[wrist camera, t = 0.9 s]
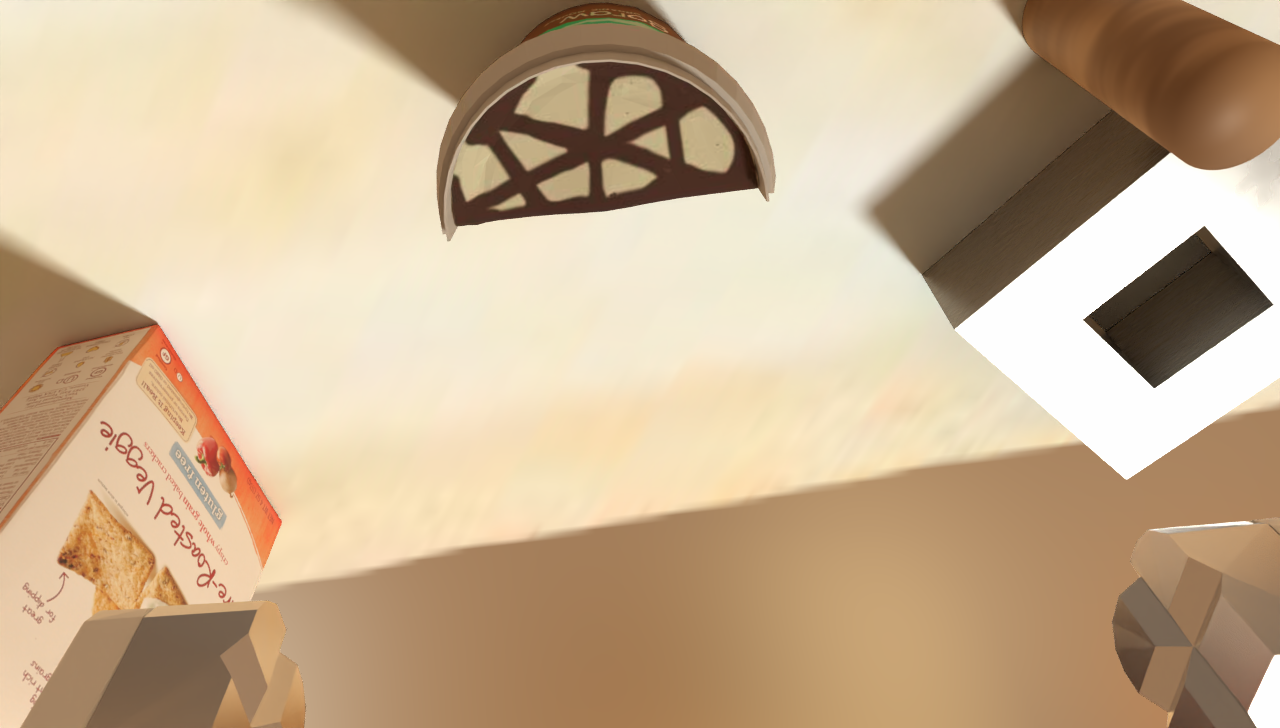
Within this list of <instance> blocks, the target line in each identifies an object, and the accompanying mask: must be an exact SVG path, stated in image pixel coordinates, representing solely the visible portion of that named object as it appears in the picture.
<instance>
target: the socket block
mask: <svg viewBox="0 0 1280 728" xmlns="http://www.w3.org/2000/svg"><path fill="white" fill-rule="evenodd" d="M1194 233H1195V234H1196V235H1197V236H1198V237H1199V238H1200V239H1201V240H1202V241H1203V243H1204V244H1205V245H1206V246H1207V247H1208V248H1209V249H1210V250H1211V252H1212V253H1210V254H1209V255H1208V256H1206V257H1205V258H1204V259H1202V260H1201V261H1200V262H1199V263H1197V264H1196V265H1195V266H1193V267H1192V268H1191V269H1189V270H1188V271H1187V272H1185V273H1184V274H1183V275H1181V276H1180V277H1179V278H1177V279H1176V280H1175V281H1173V282H1172V283H1171V284H1169V285H1168V286H1167V287H1165V288H1164V289H1163V290H1161V291H1160V292H1159V293H1157V294H1156V295H1155V296H1153V297H1152V298H1151V299H1149V300H1148V301H1147V302H1145V303H1144V304H1143V305H1141V306H1140V307H1139V308H1137V309H1136V310H1135V311H1133V312H1132V313H1131V314H1129V315H1128V316H1127V317H1125V318H1124V319H1123V320H1122V321H1120V322H1119V323H1118V324H1116V325H1115V326H1114V327H1112V328H1111V329H1110V330H1108V331H1107V332H1105V331H1104V330H1103V329H1102V328H1101V327H1100V326H1099V325H1098V324H1097V323H1096V322H1095V321H1094V320H1093V319H1092V318H1091V317H1090V316H1089V314H1090V313H1091V312H1093V311H1094V310H1095V309H1097V308H1098V307H1099V306H1100V305H1102V304H1103V303H1104V302H1106V301H1107V300H1108V299H1110V298H1111V297H1112V296H1113V295H1115V294H1116V293H1117V292H1119V291H1120V290H1121V289H1123V288H1124V287H1125V286H1126V285H1128V284H1129V283H1130V282H1132V281H1133V280H1134V279H1136V278H1137V277H1138V276H1139V275H1141V274H1142V273H1143V272H1145V271H1146V270H1147V269H1149V268H1150V267H1151V266H1152V265H1154V264H1155V263H1156V262H1158V261H1159V260H1160V259H1162V258H1163V257H1164V256H1165V255H1167V254H1168V253H1169V252H1171V251H1172V250H1173V249H1175V248H1176V247H1177V246H1178V245H1180V244H1181V243H1182V242H1184V241H1185V240H1186V239H1188V238H1189V237H1190V236H1191V235H1193V234H1194ZM922 276H923V278H924V279H925V281H926V283H927V284H928V286H929V288H930V289H931V291H932V293H933V294H934V296H935V298H936V299H937V301H938V303H939V304H940V306H941V308H942V310H943V311H944V313H945V315H946V316H947V318H948V320H949V321H950V323H951V325H952V326H953V328H954V330H955V331H957V332H958V333H959V334H960V335H961V336H962V337H963V338H965V339H966V340H967V341H968V342H969V343H970V344H971V345H973V346H974V347H975V348H976V349H977V350H978V351H980V352H981V353H982V354H983V355H984V356H985V357H986V358H988V359H989V360H990V361H991V362H992V363H993V364H994V365H996V366H997V367H998V368H999V369H1000V370H1001V371H1002V372H1004V373H1005V374H1006V375H1007V376H1008V377H1009V378H1011V379H1012V380H1013V381H1014V382H1015V383H1016V384H1017V385H1019V386H1020V387H1021V388H1022V389H1023V390H1024V391H1025V392H1027V393H1028V394H1029V395H1030V396H1031V397H1032V398H1033V399H1035V400H1036V401H1037V402H1038V403H1039V404H1040V405H1042V406H1043V407H1044V408H1045V409H1046V410H1047V411H1048V412H1050V413H1051V414H1052V415H1053V416H1054V417H1055V418H1056V419H1058V420H1059V421H1060V422H1061V423H1062V424H1063V425H1064V426H1066V427H1067V428H1068V429H1069V430H1070V431H1071V432H1072V433H1074V434H1075V435H1076V436H1077V437H1078V438H1079V439H1081V440H1082V441H1083V442H1084V443H1085V444H1086V445H1087V446H1089V447H1090V448H1091V449H1092V450H1093V451H1095V453H1097V454H1098V455H1099V456H1100V457H1101V458H1103V460H1105V461H1106V462H1107V463H1108V464H1109V465H1110V466H1112V467H1113V468H1114V469H1115V470H1116V471H1117V472H1118V473H1120V474H1121V475H1122V476H1123V477H1124V478H1125V479H1128V478H1130V477H1131V476H1133V475H1134V474H1136V473H1137V472H1139V471H1140V470H1142V469H1143V468H1145V467H1146V466H1147V465H1149V464H1151V463H1152V462H1154V461H1155V460H1157V459H1158V458H1160V457H1161V456H1163V455H1164V454H1166V453H1167V452H1169V451H1170V450H1171V449H1173V448H1175V447H1176V446H1177V445H1179V444H1180V443H1182V442H1183V441H1185V440H1186V439H1188V438H1189V437H1191V436H1192V435H1194V434H1195V433H1197V432H1198V431H1200V430H1201V429H1203V428H1204V427H1206V426H1207V425H1209V424H1210V423H1212V422H1213V421H1215V420H1216V419H1218V418H1219V417H1221V416H1222V415H1224V414H1225V413H1227V412H1228V411H1230V410H1231V409H1233V408H1234V407H1236V406H1237V405H1239V404H1240V403H1242V402H1243V401H1245V400H1246V399H1248V398H1249V397H1251V396H1252V395H1254V394H1255V393H1257V392H1258V391H1260V390H1261V389H1263V388H1264V387H1266V386H1267V385H1269V384H1270V383H1272V382H1273V381H1275V380H1276V379H1278V378H1279V377H1280V138H1279V139H1278V140H1277V141H1276V142H1275V143H1274V144H1273V145H1272V146H1271V147H1269V148H1268V149H1267V150H1266V151H1264V152H1263V153H1261V154H1260V155H1258V156H1257V157H1255V158H1253V159H1252V160H1250V161H1247V162H1245V163H1243V164H1241V165H1238V166H1235V167H1232V168H1228V169H1222V170H1202V169H1198V168H1194V167H1192V166H1190V165H1188V164H1186V163H1185V162H1183V161H1182V160H1180V159H1179V158H1178V157H1176V156H1175V155H1174V154H1172V153H1171V152H1169V151H1168V150H1167V149H1165V148H1164V147H1163V146H1161V145H1160V144H1159V143H1157V142H1156V141H1155V140H1153V139H1152V138H1150V137H1149V136H1148V135H1146V134H1145V133H1144V132H1142V131H1141V130H1140V129H1138V128H1137V127H1135V126H1134V125H1133V124H1131V123H1130V122H1129V121H1127V120H1126V119H1125V118H1123V117H1122V116H1120V115H1119V114H1118V113H1116V112H1115V111H1114V110H1112V111H1111V112H1110V113H1109V114H1108V115H1107V116H1105V117H1104V118H1103V119H1102V120H1101V121H1100V122H1098V123H1097V124H1096V125H1095V126H1094V127H1093V128H1092V129H1090V130H1089V131H1088V132H1087V133H1086V134H1085V135H1083V136H1082V137H1081V138H1080V139H1079V140H1078V141H1077V142H1075V143H1074V144H1073V145H1072V146H1071V147H1070V148H1068V149H1067V150H1066V151H1065V152H1064V153H1063V154H1062V155H1060V156H1059V157H1058V158H1057V159H1056V160H1055V161H1053V162H1052V163H1051V164H1050V165H1049V166H1048V167H1046V168H1045V169H1044V170H1043V171H1042V172H1041V173H1040V174H1038V175H1037V176H1036V177H1035V178H1034V179H1033V180H1031V181H1030V182H1029V183H1028V184H1027V185H1026V186H1025V187H1023V188H1022V189H1021V190H1020V191H1019V192H1018V193H1016V194H1015V195H1014V196H1013V197H1012V198H1011V199H1009V200H1008V201H1007V202H1006V203H1005V204H1004V205H1003V206H1001V207H1000V208H999V209H998V210H997V211H996V212H994V213H993V214H992V215H991V216H990V217H989V218H988V219H986V220H985V221H984V222H983V223H982V224H981V225H979V226H978V227H977V228H976V229H975V230H974V231H973V232H971V233H970V234H969V235H968V236H967V237H966V238H964V239H963V240H962V241H961V242H960V243H959V244H957V245H956V246H955V247H954V248H953V249H952V250H951V251H949V252H948V253H947V254H946V255H945V256H944V257H942V258H941V259H940V260H939V261H938V262H937V263H936V264H934V265H933V266H932V267H931V268H930V269H929V270H927V271H926V272H925V273H924V274H923V275H922Z"/></svg>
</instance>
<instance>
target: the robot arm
mask: <svg viewBox="0 0 1280 728" xmlns="http://www.w3.org/2000/svg"><path fill="white" fill-rule="evenodd" d="M1130 562H1131V564H1132V565H1133V567H1134V569H1135V570H1136V572H1137V573H1138V575H1139V577H1140V578H1138V579H1137V580H1136V581H1135V582H1134V583H1133V584H1132V585H1131V586H1129V587H1128V588H1127V589H1126V590H1125V591H1124V592H1123V593H1122V594H1121V595H1119V598H1118V602H1117V605H1116V609H1115V613H1114V617H1113V621H1112V624H1113V632H1114V640H1115V649H1116V652H1117V654H1118V657H1119V659H1120V662H1121V664H1122V667H1123V669H1124V671H1125V673H1126V675H1127V676H1128V678H1129V679H1130V681H1131V682H1132V684H1133V685H1134V687H1135V689H1136V690H1137V692H1138V693H1139V694H1140V695H1142V696H1143V697H1145V698H1146V699H1148V700H1150V701H1151V702H1153V703H1154V704H1156V705H1158V706H1159V707H1161V708H1162V709H1164V710H1166V711H1167V712H1168V719H1167V728H1280V518H1269V519H1258V520H1252V521H1249V522H1244V521H1241V522H1230V523H1218V524H1207V525H1196V526H1186V527H1185V526H1184V527H1173V528H1162V529H1150V530H1147V531H1146V532H1145V533H1144V534H1143V536H1141V538H1140V539H1139V540H1138V541H1137V542H1136V545H1135V548H1134V551H1133V554H1132V557H1131V560H1130ZM285 633H286V627H285V625H284V622H283V620H282V616H281V614H280V611H279V609H278V606H277V604H276V603H273V602H270V601H267V600H263V601H244V602H227V603H209V604H191V605H173V606H157V607H156V608H144V609H123V610H102V611H99V612H97V613H96V614H94V615H93V616H92V617H90V618H89V619H87V620H86V621H85V622H84V623H83V624H82V626H81V627H80V629H79V631H78V632H77V634H76V636H75V637H74V639H73V641H72V642H71V644H70V646H69V647H68V649H67V651H66V652H65V654H64V656H63V657H62V659H61V661H60V662H59V664H58V666H57V667H56V669H55V671H54V672H53V674H52V676H51V677H50V679H49V681H48V682H47V684H46V686H45V687H44V689H43V691H42V692H41V694H40V696H39V697H38V699H37V700H36V702H35V704H34V705H33V707H32V709H31V710H30V712H29V714H28V715H27V717H26V719H25V720H24V722H23V724H22V725H21V727H20V728H304V724H305V712H306V704H305V696H304V687H303V681H302V678H301V675H300V671H299V668H298V665H297V664H296V663H295V662H293V661H292V660H291V659H289V658H288V657H286V656H285V655H283V654H282V653H280V652H279V651H280V648H281V645H282V642H283V639H284V636H285Z"/></svg>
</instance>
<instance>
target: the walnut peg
mask: <svg viewBox="0 0 1280 728" xmlns="http://www.w3.org/2000/svg"><path fill="white" fill-rule="evenodd" d="M1022 27H1023V34H1024V37H1025V40H1026V42H1027V44H1028V45H1029V47H1030V48H1031V49H1032V50H1033V51H1034V52H1035V53H1036V54H1037V55H1039V56H1040V57H1042V58H1043V59H1044V60H1046V61H1047V62H1048V63H1050V64H1051V65H1052V66H1054V67H1055V68H1057V69H1058V70H1059V71H1061V72H1062V73H1063V74H1065V75H1066V76H1067V77H1069V78H1070V79H1071V80H1073V81H1074V82H1076V83H1077V84H1078V85H1080V86H1081V87H1082V88H1084V89H1085V90H1086V91H1088V92H1089V93H1091V94H1092V95H1093V96H1095V97H1096V98H1097V99H1099V100H1100V101H1101V102H1103V103H1104V104H1106V105H1107V106H1108V107H1110V108H1111V109H1112V110H1114V111H1115V112H1116V113H1118V114H1119V115H1120V116H1122V117H1123V118H1125V119H1126V120H1127V121H1129V122H1130V123H1131V124H1133V125H1134V126H1135V127H1137V128H1138V129H1140V130H1141V131H1142V132H1144V133H1145V134H1146V135H1148V136H1149V137H1150V138H1152V139H1153V140H1155V141H1156V142H1157V143H1159V144H1160V145H1161V146H1163V147H1164V148H1165V149H1167V150H1168V151H1169V152H1171V153H1172V154H1174V155H1175V156H1176V157H1178V158H1179V159H1180V160H1182V161H1183V162H1185V163H1186V164H1188V165H1190V166H1192V167H1194V168H1198V169H1202V170H1222V169H1228V168H1232V167H1235V166H1238V165H1241V164H1243V163H1245V162H1247V161H1250V160H1252V159H1253V158H1255V157H1257V156H1258V155H1260V154H1261V153H1263V152H1264V151H1266V150H1267V149H1268V148H1269V147H1271V146H1272V145H1273V144H1274V143H1275V142H1276V141H1277V140H1278V139H1279V138H1280V45H1278V44H1276V43H1274V42H1272V41H1270V40H1267V39H1265V38H1263V37H1261V36H1259V35H1256V34H1254V33H1252V32H1250V31H1248V30H1245V29H1243V28H1241V27H1239V26H1237V25H1235V24H1232V23H1230V22H1228V21H1226V20H1224V19H1221V18H1219V17H1217V16H1215V15H1213V14H1211V13H1208V12H1206V11H1204V10H1202V9H1200V8H1197V7H1195V6H1193V5H1191V4H1189V3H1187V2H1184V1H1182V0H1028V1H1027V3H1026V6H1025V9H1024V13H1023V20H1022Z"/></svg>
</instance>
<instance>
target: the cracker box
mask: <svg viewBox="0 0 1280 728" xmlns="http://www.w3.org/2000/svg"><path fill="white" fill-rule="evenodd" d="M281 523H282V521H281V519H280V518H279V517H278V515H277V514H276V512H275V511H274V509H273V507H272V506H271V505H270V503H269V501H268V500H267V498H266V497H265V495H264V493H263V492H262V490H261V488H260V487H259V485H258V483H257V482H256V480H255V479H254V477H253V476H252V474H251V473H250V471H249V470H248V468H247V466H246V465H245V463H244V461H243V460H242V458H241V457H240V455H239V453H238V452H237V450H236V448H235V447H234V445H233V444H232V442H231V440H230V439H229V437H228V435H227V434H226V432H225V431H224V429H223V428H222V426H221V425H220V423H219V421H218V419H217V418H216V416H215V415H214V413H213V411H212V410H211V408H210V407H209V405H208V403H207V402H206V400H205V399H204V397H203V395H202V394H201V392H200V390H199V389H198V387H197V386H196V384H195V382H194V381H193V379H192V378H191V376H190V374H189V373H188V371H187V369H186V368H185V366H184V365H183V363H182V362H181V360H180V358H179V357H178V355H177V353H176V352H175V350H174V349H173V347H172V345H171V344H170V342H169V340H168V339H167V337H166V336H165V334H164V333H163V331H162V329H161V328H160V326H159V325H153V326H148V327H144V328H140V329H135V330H130V331H126V332H122V333H117V334H113V335H109V336H105V337H100V338H96V339H92V340H88V341H83V342H79V343H75V344H71V345H67V346H62V347H57V348H56V349H55V350H54V351H53V352H52V353H51V354H50V355H49V356H48V357H47V358H46V360H45V361H44V362H43V363H42V364H41V365H40V366H39V367H38V368H37V369H36V370H35V371H34V373H33V374H32V375H31V376H30V377H29V378H28V379H27V381H26V382H25V383H24V384H23V385H22V386H21V387H20V388H19V389H18V390H17V392H16V393H15V394H14V395H13V396H12V397H11V398H10V399H9V400H8V401H7V403H6V404H5V405H4V406H3V407H2V408H1V409H0V728H20V727H21V725H22V724H23V722H24V720H25V719H26V717H27V715H28V714H29V712H30V710H31V709H32V707H33V705H34V704H35V702H36V700H37V699H38V697H39V696H40V694H41V692H42V691H43V689H44V687H45V686H46V684H47V682H48V681H49V679H50V677H51V676H52V674H53V672H54V671H55V669H56V667H57V666H58V664H59V662H60V661H61V659H62V657H63V656H64V654H65V652H66V651H67V649H68V647H69V646H70V644H71V642H72V641H73V639H74V637H75V636H76V634H77V632H78V631H79V629H80V627H81V626H82V624H83V623H84V622H85V621H86V620H87V619H89V618H90V617H92V616H93V615H94V614H96V613H97V612H99V611H102V610H123V609H144V608H156V607H157V606H173V605H191V604H209V603H227V602H244V601H251V598H252V596H253V594H254V591H255V589H256V586H257V584H258V581H259V579H260V576H261V574H262V571H263V568H264V566H265V564H266V561H267V559H268V556H269V554H270V551H271V549H272V546H273V544H274V541H275V538H276V536H277V534H278V531H279V528H280V526H281Z"/></svg>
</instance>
